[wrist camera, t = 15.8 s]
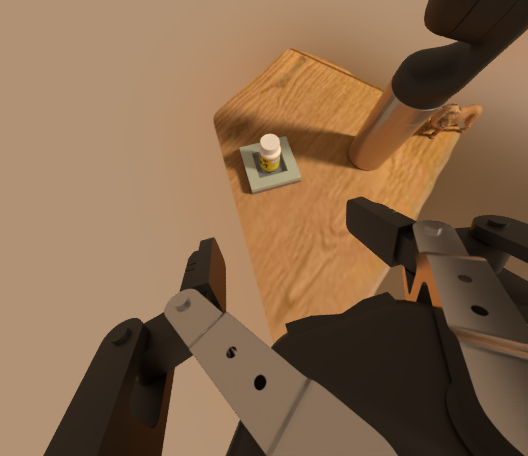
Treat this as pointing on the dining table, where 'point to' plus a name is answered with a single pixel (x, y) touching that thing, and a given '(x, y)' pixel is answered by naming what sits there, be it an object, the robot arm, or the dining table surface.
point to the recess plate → (266, 181)
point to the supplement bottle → (269, 153)
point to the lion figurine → (453, 117)
